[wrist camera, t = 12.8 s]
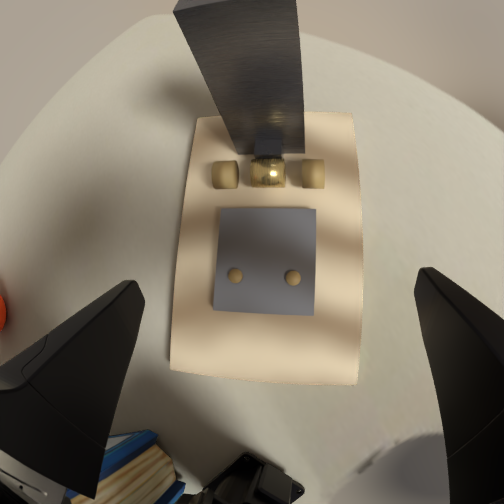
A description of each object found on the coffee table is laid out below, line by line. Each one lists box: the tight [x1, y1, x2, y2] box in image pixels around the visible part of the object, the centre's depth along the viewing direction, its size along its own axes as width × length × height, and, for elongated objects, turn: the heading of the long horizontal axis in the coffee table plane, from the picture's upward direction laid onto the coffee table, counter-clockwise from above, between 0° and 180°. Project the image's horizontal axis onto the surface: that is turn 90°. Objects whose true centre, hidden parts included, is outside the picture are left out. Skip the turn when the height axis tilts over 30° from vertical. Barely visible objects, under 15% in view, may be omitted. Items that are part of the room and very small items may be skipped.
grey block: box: [173, 0, 305, 188], centre depth 16 cm, size 6×6×14 cm
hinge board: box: [170, 112, 363, 385], centre depth 21 cm, size 22×14×3 cm, turn 177°
